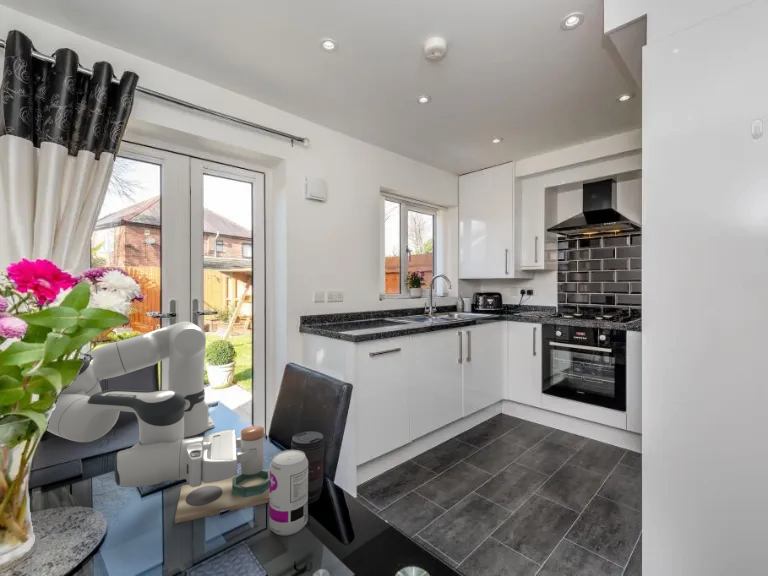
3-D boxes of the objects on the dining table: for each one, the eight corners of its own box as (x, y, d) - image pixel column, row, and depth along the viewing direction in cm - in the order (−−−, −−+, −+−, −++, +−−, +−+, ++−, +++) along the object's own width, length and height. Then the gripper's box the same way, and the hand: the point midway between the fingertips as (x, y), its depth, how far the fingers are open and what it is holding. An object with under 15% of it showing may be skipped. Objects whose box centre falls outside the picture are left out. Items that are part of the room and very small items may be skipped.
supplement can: (268, 540, 73) (269, 468, 73) (269, 516, 81) (270, 450, 81) (308, 533, 76) (309, 463, 76) (306, 510, 84) (306, 446, 84)
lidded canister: (240, 466, 93) (240, 427, 93) (262, 462, 95) (262, 424, 95) (241, 476, 88) (241, 436, 88) (264, 472, 90) (264, 432, 90)
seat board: (181, 490, 91) (182, 477, 91) (271, 472, 100) (271, 461, 100) (174, 523, 78) (174, 509, 78) (277, 500, 87) (278, 487, 87)
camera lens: (330, 493, 90) (330, 435, 90) (306, 510, 84) (307, 446, 84) (307, 483, 95) (308, 427, 95) (283, 498, 88) (284, 438, 88)
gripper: (198, 451, 95) (253, 442, 101) (191, 491, 77) (259, 478, 82) (198, 428, 95) (253, 420, 101) (191, 462, 77) (259, 451, 82)
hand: (256, 446), depth 91 cm, fingers closed on lidded canister, 5 cm apart
